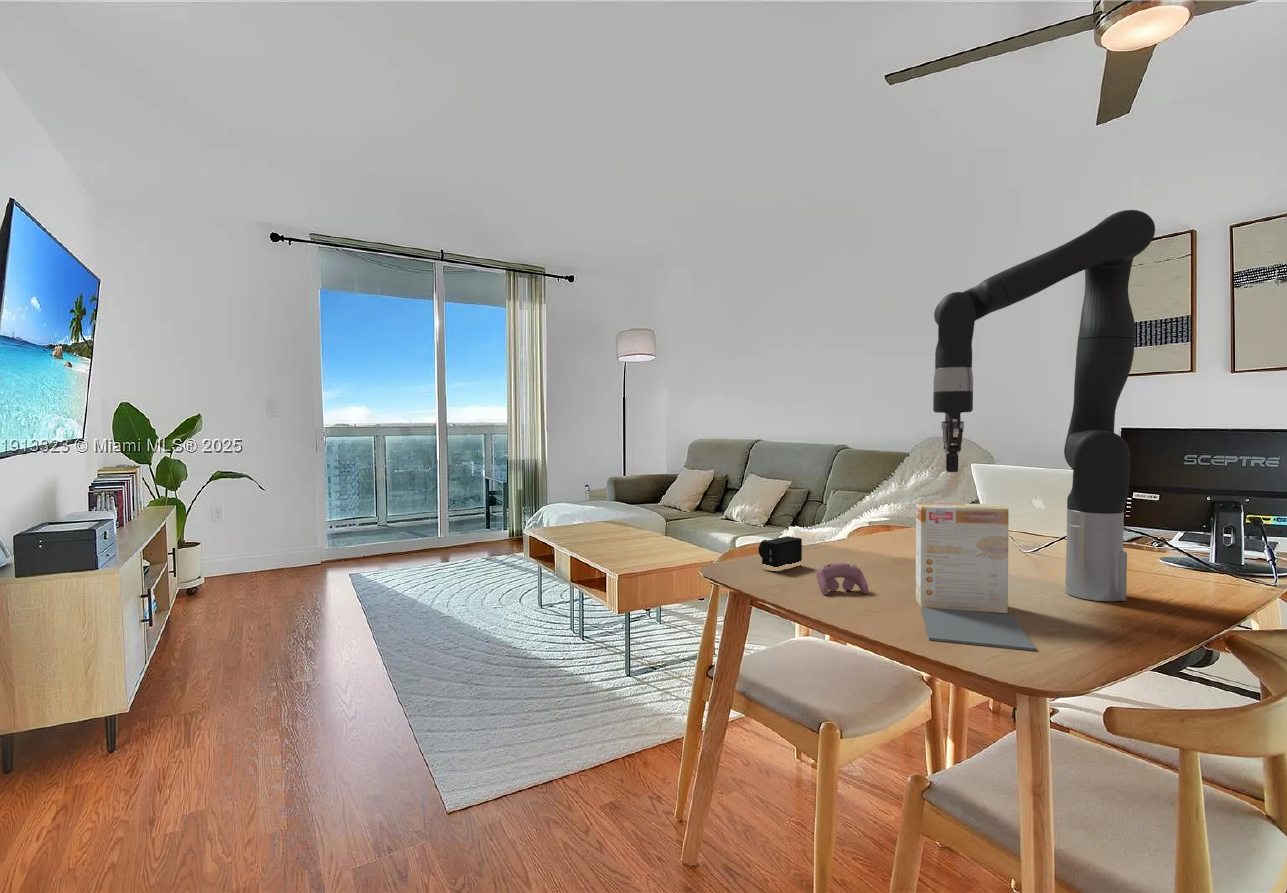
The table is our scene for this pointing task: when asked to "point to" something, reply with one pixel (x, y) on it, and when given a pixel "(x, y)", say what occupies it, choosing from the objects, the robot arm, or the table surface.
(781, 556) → the digital camera
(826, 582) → the video game controller
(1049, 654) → the table surface
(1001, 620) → the mat
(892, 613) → the table surface
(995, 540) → the coffeecake box
